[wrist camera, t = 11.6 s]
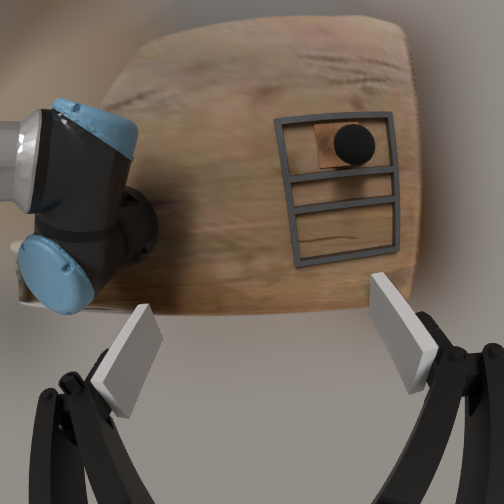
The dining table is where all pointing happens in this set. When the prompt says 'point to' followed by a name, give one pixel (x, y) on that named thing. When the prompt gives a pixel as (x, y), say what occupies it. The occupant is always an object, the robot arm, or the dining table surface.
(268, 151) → the dining table surface
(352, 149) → the light bulb
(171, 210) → the dining table surface
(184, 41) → the dining table surface
